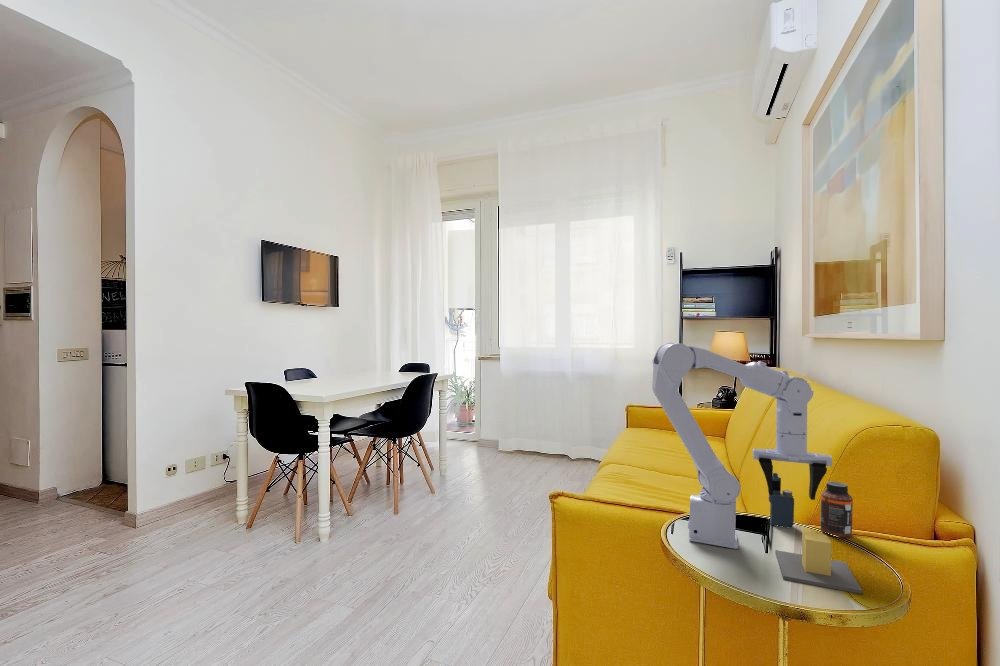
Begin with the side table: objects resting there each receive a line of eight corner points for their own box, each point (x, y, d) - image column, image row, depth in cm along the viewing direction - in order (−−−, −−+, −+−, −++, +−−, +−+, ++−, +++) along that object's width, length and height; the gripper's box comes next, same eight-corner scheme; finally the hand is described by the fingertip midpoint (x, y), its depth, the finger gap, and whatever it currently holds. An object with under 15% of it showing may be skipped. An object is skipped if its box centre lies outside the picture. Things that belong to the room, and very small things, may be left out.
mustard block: (805, 571, 93) (806, 539, 93) (801, 562, 96) (802, 531, 96) (830, 575, 91) (831, 543, 91) (825, 566, 95) (826, 535, 95)
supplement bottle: (857, 540, 109) (858, 488, 109) (827, 537, 111) (828, 486, 111) (844, 529, 115) (845, 481, 115) (815, 527, 116) (817, 479, 116)
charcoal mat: (783, 579, 91) (783, 575, 91) (775, 552, 102) (775, 550, 102) (862, 594, 86) (862, 590, 86) (845, 564, 97) (845, 561, 97)
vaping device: (767, 521, 119) (768, 471, 119) (792, 525, 117) (793, 474, 117) (768, 525, 117) (769, 474, 117) (794, 529, 115) (795, 477, 115)
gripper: (754, 432, 105) (754, 496, 105) (835, 438, 100) (835, 506, 100) (752, 427, 112) (751, 487, 112) (828, 432, 106) (827, 496, 106)
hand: (791, 495), depth 106 cm, fingers open, 7 cm apart
